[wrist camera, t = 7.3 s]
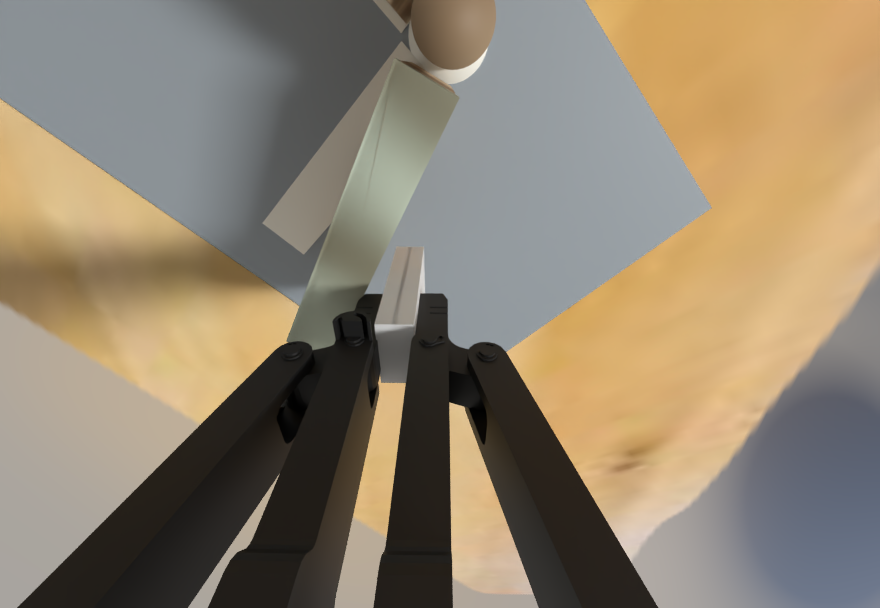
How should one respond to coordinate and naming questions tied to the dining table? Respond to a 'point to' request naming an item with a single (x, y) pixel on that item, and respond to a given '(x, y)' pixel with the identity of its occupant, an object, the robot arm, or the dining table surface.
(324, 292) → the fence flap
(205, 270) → the dining table surface
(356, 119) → the card
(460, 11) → the beige wooden panel
